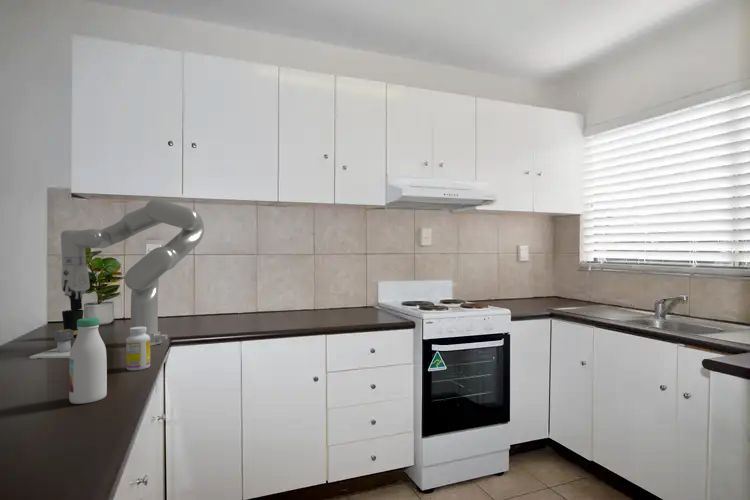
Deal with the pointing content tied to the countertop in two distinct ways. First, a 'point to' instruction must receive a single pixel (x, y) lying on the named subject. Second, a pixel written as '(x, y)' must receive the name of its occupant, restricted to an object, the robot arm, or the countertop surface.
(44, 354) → the base plate
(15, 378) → the countertop surface
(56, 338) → the grey yellow elongated block
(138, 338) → the supplement bottle
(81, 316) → the cup
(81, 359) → the milk bottle
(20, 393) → the countertop surface
